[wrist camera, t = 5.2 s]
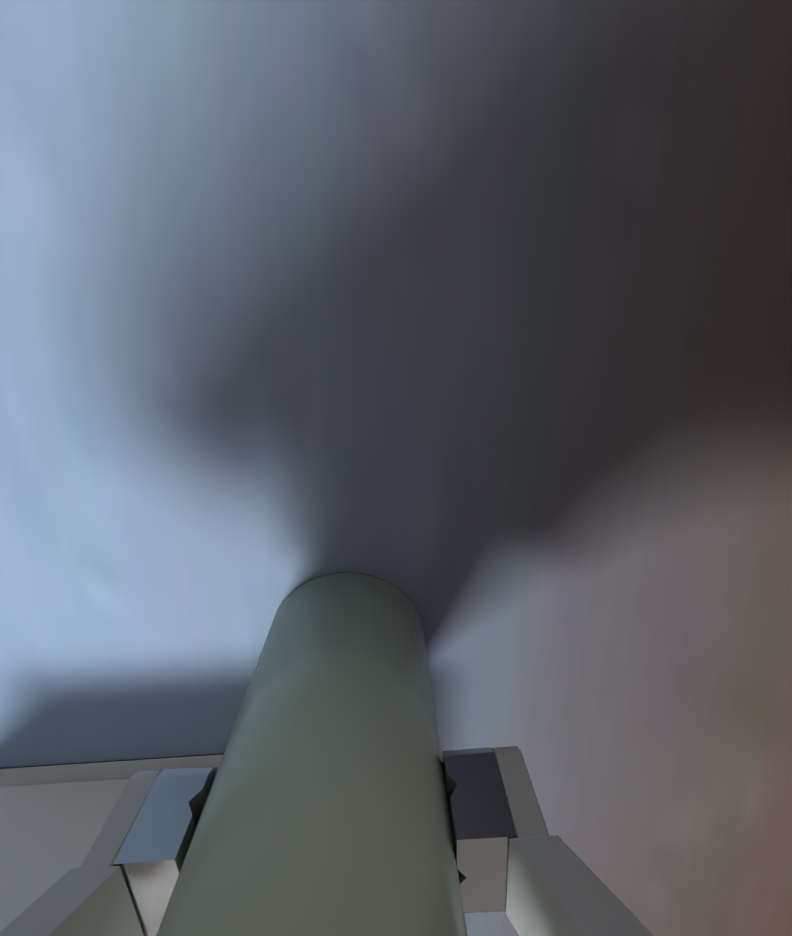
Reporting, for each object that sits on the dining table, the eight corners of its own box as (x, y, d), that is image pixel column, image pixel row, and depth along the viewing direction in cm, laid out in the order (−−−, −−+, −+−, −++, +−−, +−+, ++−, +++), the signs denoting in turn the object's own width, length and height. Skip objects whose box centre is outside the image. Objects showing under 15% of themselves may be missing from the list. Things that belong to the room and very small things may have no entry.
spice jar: (256, 574, 12) (-292, 1652, 2) (425, 564, 12) (615, 1565, 2) (278, 707, 13) (0, 1731, 4) (429, 698, 13) (558, 1670, 4)
